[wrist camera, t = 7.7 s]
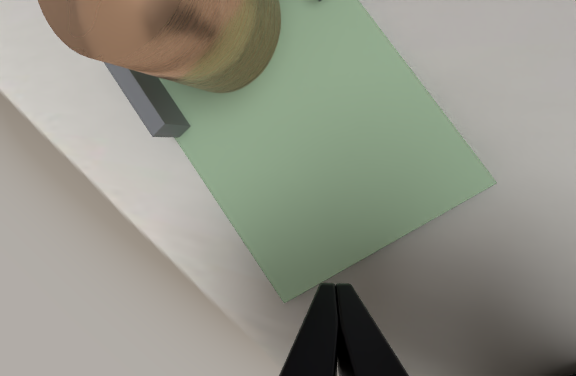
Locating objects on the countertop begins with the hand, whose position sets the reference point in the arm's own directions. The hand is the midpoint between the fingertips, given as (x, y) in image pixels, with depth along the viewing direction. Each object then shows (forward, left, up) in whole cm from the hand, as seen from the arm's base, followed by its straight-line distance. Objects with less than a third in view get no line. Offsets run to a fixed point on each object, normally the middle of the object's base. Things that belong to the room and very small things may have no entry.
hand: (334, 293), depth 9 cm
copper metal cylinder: (+14, 0, -9) cm, 17 cm away
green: (+9, 0, -10) cm, 13 cm away
